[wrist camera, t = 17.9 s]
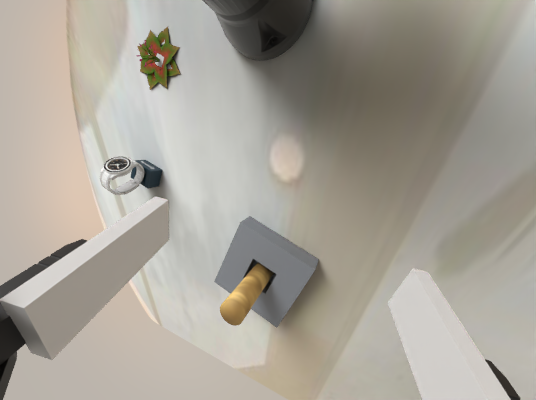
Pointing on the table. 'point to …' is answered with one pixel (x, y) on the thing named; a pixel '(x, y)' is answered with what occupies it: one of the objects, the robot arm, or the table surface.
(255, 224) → the hole block
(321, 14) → the table surface
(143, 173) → the watch
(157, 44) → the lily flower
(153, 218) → the robot arm
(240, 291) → the ochre pin
